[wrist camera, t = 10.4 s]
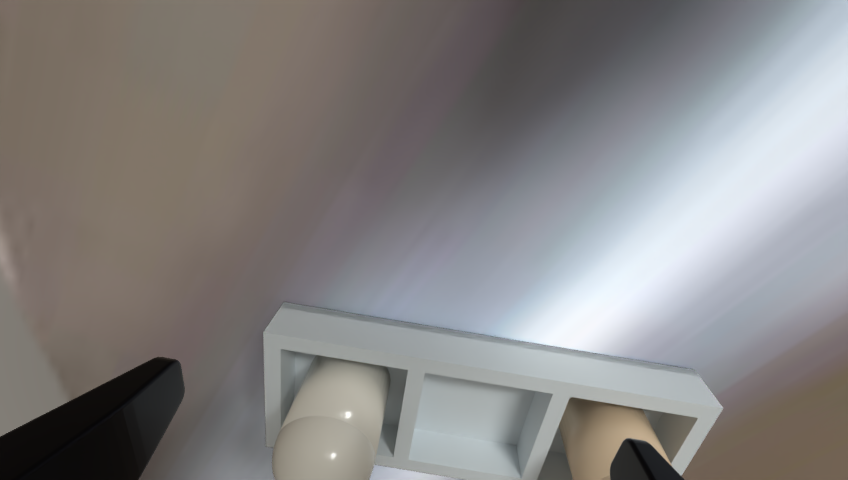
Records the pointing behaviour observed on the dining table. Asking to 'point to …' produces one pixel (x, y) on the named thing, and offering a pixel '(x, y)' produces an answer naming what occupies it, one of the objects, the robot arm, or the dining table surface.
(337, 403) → the white capsule shape
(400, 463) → the divided compartment tray
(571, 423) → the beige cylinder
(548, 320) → the dining table surface
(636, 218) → the dining table surface
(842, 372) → the dining table surface
